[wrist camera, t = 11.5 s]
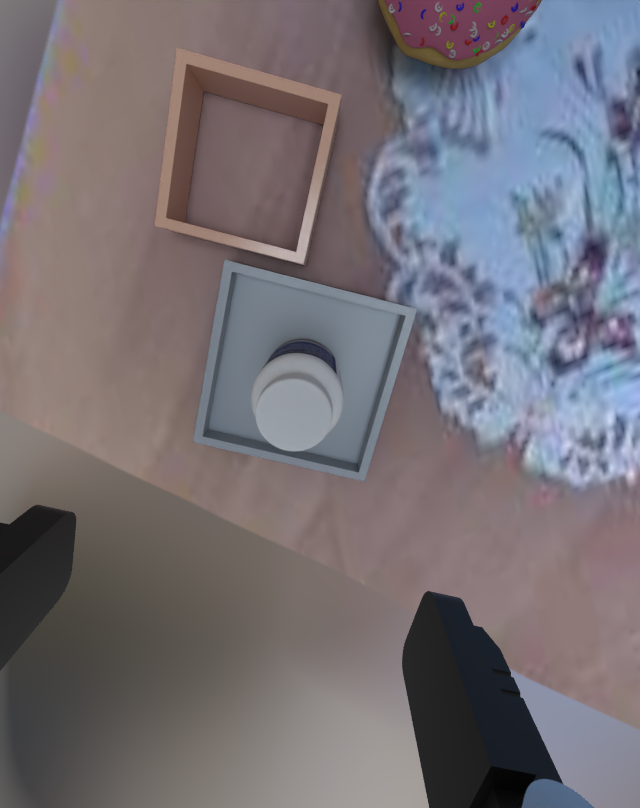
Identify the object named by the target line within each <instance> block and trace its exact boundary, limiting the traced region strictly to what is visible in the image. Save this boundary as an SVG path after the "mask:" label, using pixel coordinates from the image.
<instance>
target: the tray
mask: <svg viewBox="0 0 640 808" xmlns="http://www.w3.org/2000/svg"><path fill="white" fill-rule="evenodd" d="M416 311H417V309H415V308H411V307H408V306H404V305H400V304H396V303H392V302H388V301H384V300H380V299H377V298H373V297H369V296H365V295H361V294H357V293H353V292H349V291H345V290H342V289H338V288H334V287H330V286H326V285H322V284H318V283H314V282H311V281H307V280H303V279H299V278H295V277H291V276H287V275H283V274H279V273H276V272H272V271H268V270H264V269H260V268H256V267H252V266H248V265H244V264H241V263H237V262H233V261H228V260H224V265H223V271H222V276H221V282H220V288H219V294H218V300H217V305H216V311H215V317H214V323H213V329H212V334H211V340H210V346H209V352H208V358H207V363H206V369H205V375H204V381H203V387H202V392H201V398H200V404H199V410H198V416H197V421H196V427H195V433H194V439H193V442H195V443H199V444H204V445H208V446H212V447H217V448H221V449H225V450H230V451H234V452H238V453H243V454H247V455H251V456H256V457H260V458H264V459H269V460H273V461H278V462H282V463H286V464H291V465H295V466H299V467H304V468H308V469H312V470H317V471H321V472H325V473H330V474H334V475H338V476H343V477H347V478H351V479H356V480H360V481H365V478H366V475H367V471H368V468H369V465H370V462H371V458H372V455H373V452H374V448H375V445H376V442H377V439H378V435H379V432H380V429H381V426H382V422H383V419H384V416H385V413H386V409H387V406H388V403H389V400H390V396H391V393H392V390H393V386H394V383H395V380H396V377H397V373H398V370H399V367H400V364H401V360H402V357H403V354H404V351H405V347H406V344H407V341H408V338H409V334H410V331H411V328H412V324H413V321H414V318H415V315H416ZM299 338H306V339H312V340H315V341H318V342H320V343H321V344H323V345H324V346H326V347H327V348H328V349H329V350H330V351H331V352H332V354H333V355H334V356H335V358H336V360H337V362H338V366H339V370H340V375H341V381H342V388H343V393H344V404H343V410H342V414H341V416H340V419H339V420H338V422H337V424H336V425H335V427H334V428H333V429H332V430H331V431H330V432H329V433H328V434H327V435H326V436H325V437H324V439H323V440H322V441H321V442H319V443H318V444H317V445H315V446H314V447H312V448H310V449H307V450H303V451H286V450H282V449H279V448H277V447H275V446H273V445H272V444H271V443H269V442H268V441H267V440H266V439H265V438H264V437H263V436H262V434H261V433H260V431H259V429H258V426H257V423H256V418H255V415H254V413H253V410H252V405H251V392H252V387H253V384H254V382H255V379H256V377H257V376H258V374H259V373H260V371H261V370H262V368H263V367H264V365H265V364H266V362H267V361H268V359H269V358H270V356H271V355H272V353H273V352H274V351H275V350H276V349H277V348H278V347H279V346H281V345H282V344H284V343H285V342H287V341H290V340H293V339H299Z"/></svg>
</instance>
